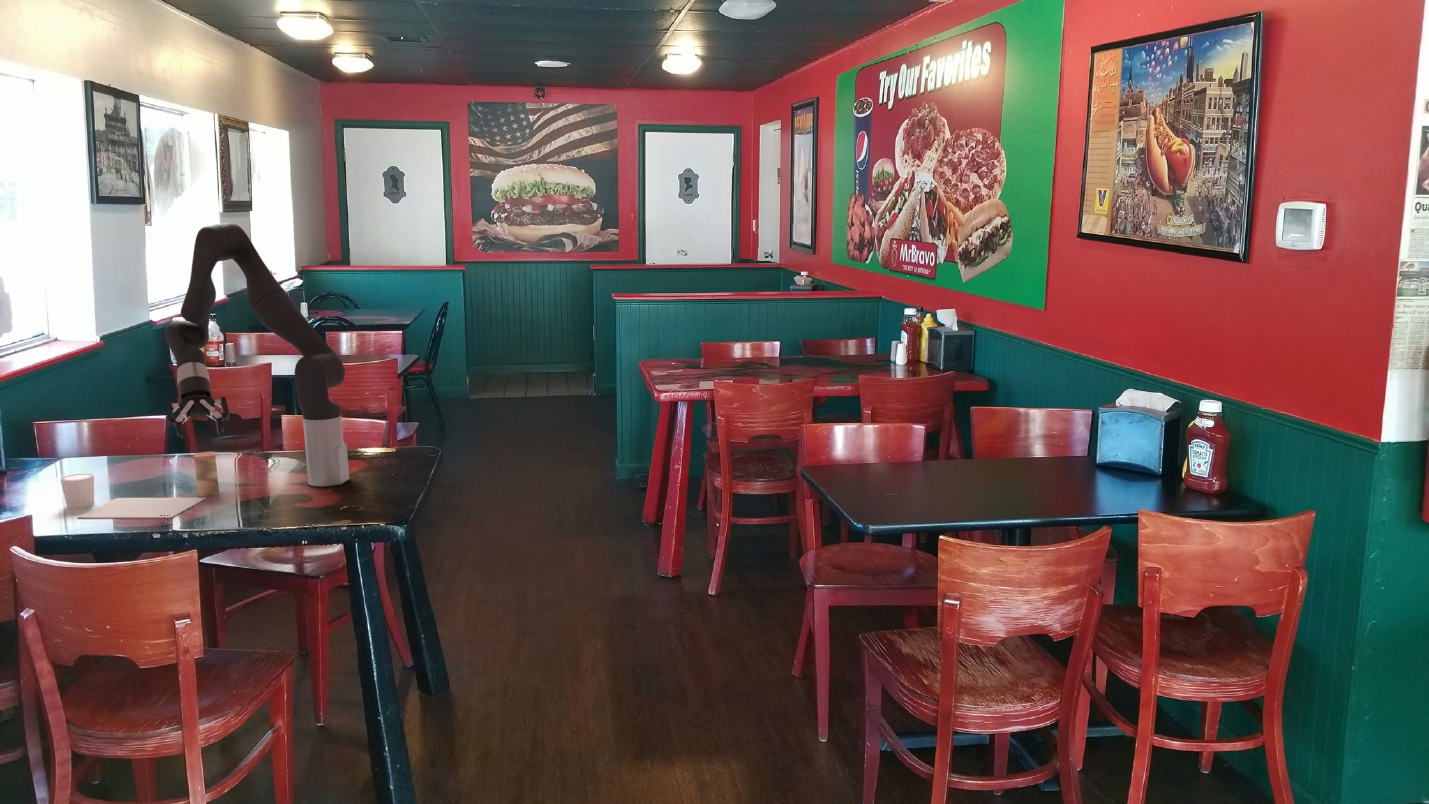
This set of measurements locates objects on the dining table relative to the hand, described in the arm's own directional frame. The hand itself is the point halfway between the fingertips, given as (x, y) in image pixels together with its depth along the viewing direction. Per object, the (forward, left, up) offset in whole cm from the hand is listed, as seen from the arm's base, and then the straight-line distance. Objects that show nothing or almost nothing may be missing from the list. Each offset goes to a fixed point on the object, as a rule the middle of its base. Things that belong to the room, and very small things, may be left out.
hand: (201, 434), depth 269 cm
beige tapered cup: (+21, +18, -13) cm, 31 cm away
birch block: (-5, +8, -13) cm, 16 cm away
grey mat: (+4, +21, -13) cm, 25 cm away
